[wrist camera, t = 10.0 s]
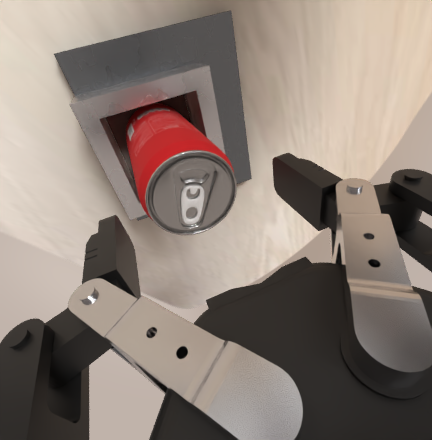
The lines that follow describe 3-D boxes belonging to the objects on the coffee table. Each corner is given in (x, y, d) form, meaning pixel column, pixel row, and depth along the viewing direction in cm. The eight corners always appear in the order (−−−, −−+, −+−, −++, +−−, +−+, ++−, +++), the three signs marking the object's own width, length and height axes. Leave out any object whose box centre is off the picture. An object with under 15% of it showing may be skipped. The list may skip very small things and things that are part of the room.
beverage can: (186, 103, 21) (249, 146, 12) (183, 162, 24) (233, 233, 15) (122, 98, 19) (137, 144, 10) (126, 162, 22) (142, 244, 13)
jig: (226, 12, 19) (253, 3, 15) (247, 175, 27) (268, 193, 24) (56, 53, 17) (43, 55, 13) (136, 215, 25) (141, 242, 22)
